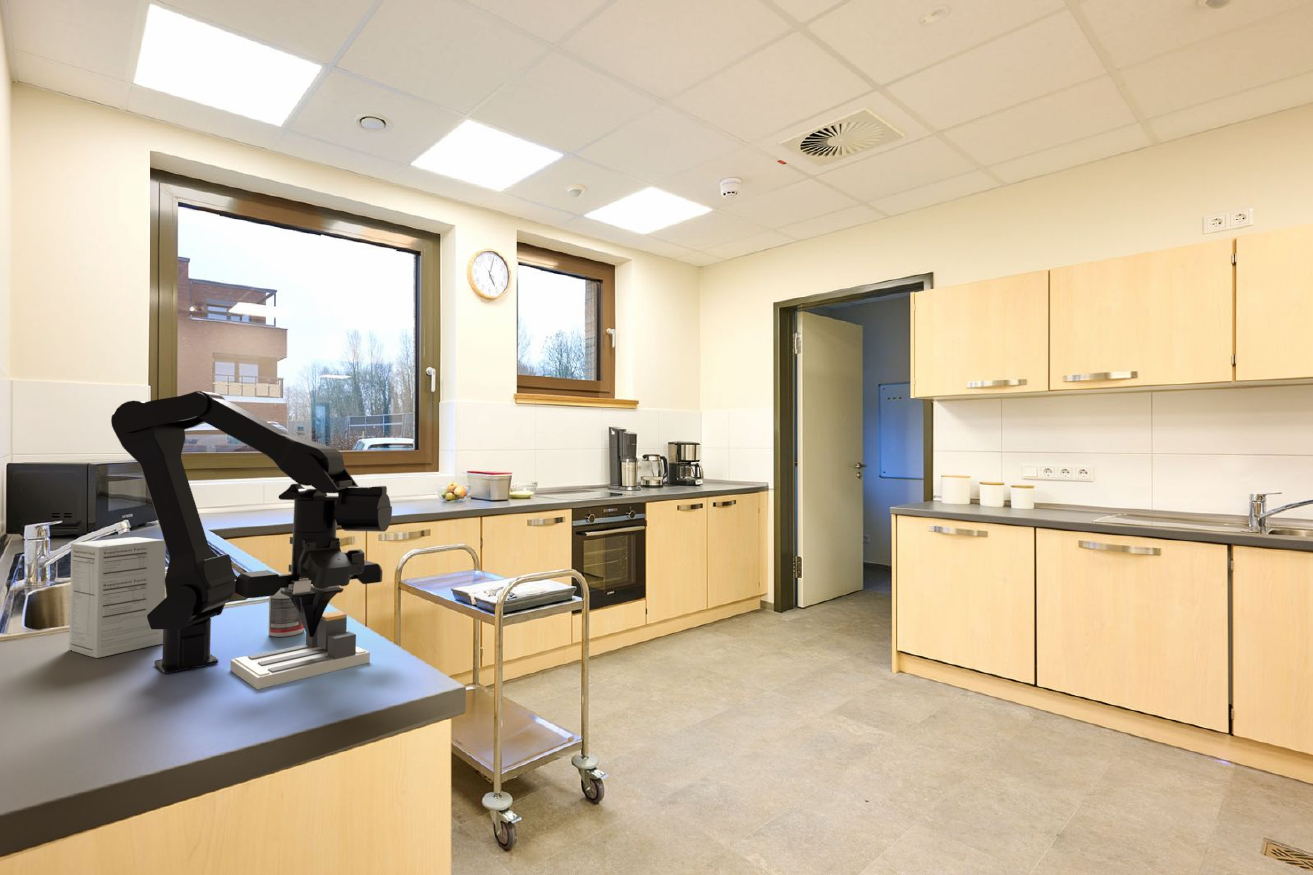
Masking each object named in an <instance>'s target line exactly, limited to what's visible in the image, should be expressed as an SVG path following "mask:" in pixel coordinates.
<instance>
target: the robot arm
mask: <svg viewBox="0 0 1313 875" xmlns="http://www.w3.org/2000/svg"><path fill="white" fill-rule="evenodd" d="M113 413H114V414H112V415H111V417H110V418H111V420H110V421H111V422H110V424H111V428H112V429H113V431H114V433H115V435H116V437H117V439H118V442H119V443H120V445H121V447H122V448H123V449H124V451H126V452H127V453H128V454H129V455H130V456H131V457H132V459H134V461H136V462H137V463H138V465H139V466H140V468H141V471H142V474H143V478H144V480H145V484H146V487H147V490H148V493H149V496H150V499H151V502H152V505H153V509H154V512H155V516H156V519H157V522H158V525H159V528H160V531H161V535H162V537H163V540H164V541H165V544H166V550H167V551H166V552H167V553H168V556H169V557H168V558H169V562H168V565H167V569H166V572H165V599H164V600H163V601H162V602H161V603H160V604H158V605H157V606H156V607H155V608H154V609H153V610H152V611H151V612H150V613H149V614H148V615H147V619H148V622H149V625H150V628H151V629H163V644H162V655H161V656H162V658H161V659H156V660H154V662H153V663H154V665H155V666H156V667H157V668H158V669H159V670H160V671H161V672H162V673H163V674H164V673H165V674H171V673H174V672H181V671H184V670H185V671H186V670H189V669H194V668H201V667H205V666H209V665H215V664H218V663H219V658H217V657H216V656H214V655H213V654H211V636H212V634H211V633H212V631H211V629H212V628H211V627H212V625H211V624H212V618H214V617H216V616H220V615H222V613H223V610H224V609H225V606H226V604H227V603H228V602H229V601H230V600H231V598H232V597H233V595H234V593H235V594H237V595H240V596H242V597H244V598H246V599H256V598H257V599H258V598H266V597H269V596H274V595H275V594H276V593H277V592H278V591H279V590H280V588H284V589H281V591H280V592H281V594H283V595H286V596H288V597H290V599H291V601H292V602H293V604H294V606H295V608H296V610H297V612H298V614H299V617H300V619H301V622H302V624H303V627H304V631H305V635H306V634H307V636H308V637H313V636H314V634H315V632H316V630H317V627H318V625H319V622H320V620H321V618H322V615H323V613H325V611H326V609H327V607H328V605H329V603H330V602H331V600H332V599H333V598H334V597H335V596H336V595H337V594H341V593H343V592H344V588H343V587H347V586H349V585H350V582H351V580H358V581H359V582H360V583H361V584H362V585H368V584H369V585H370V584H377V583H381V582H383V568H382V566H381V565H380V564H379V563H377V562H372V561H369V560H366V557H365V552H364V551H363V549H361V548H360V549H349V550H348V551H343V552H342V550H341V549H342V548H341V542H340V538H339V537H338V536H337V526H338V527H341V529H342V530H343V531H345V532H380V533H381V532H386V531H387V530H388V528H389V526H390V524H391V522H392V515H393V514H392V513H393V506H392V505H391V499H390V497H389V495H388V493H387V492H388V488H387V486H386V485H375V486H359V485H358V484H357V482H356V481H355V480H354V478H353V477H352V475H351V474H350V472H349V471H348V470H347V469H346V467H345V461H344V459H343V458H344V456H343V454H342V453H341V452H340V451H339V450H338V449H337V448H333V447H332V446H328V445H326V444H323V443H319V442H318V441H317V442H316V441H314V440H309V439H306V438H302V437H299V436H295V435H294V434H290V433H288V432H286V431H284V430H282V429H281V428H278V426H275V425H274V424H271V423H270V422H267V421H266V420H265V419H263V418H260V417H258V416H257V415H255V414H252V412H249V411H248V410H246V409H244V408H242V407H240V406H238V405H236V404H234V403H232V402H230V401H228V400H227V399H226V398H225V397H224V396H222V395H221V394H219V393H215V392H210V391H201V390H195V391H193V392H189V393H187V394H182V395H177V396H172V397H166V398H160V399H153V400H149V401H144V400H143V401H141V400H128V401H126V402H123V403H122V404H120V405H119V406H118V407H117V408H116V410H115V412H113ZM204 423H206V424H208V425H209V426H211V427H213V428H215V429H217V430H219V431H221V432H222V433H224V434H227V435H228V436H230V437H232V438H233V439H236V440H237V441H239V442H241V443H243V444H245V445H246V446H248V447H250V448H252V449H254V450H256V451H258V452H260V453H262V454H264V455H265V456H267V457H268V458H269V459H271V461H272V462H274V464H275V466H277V468H278V469H279V470H280V471H281V472H283V473H284V474H285V475H287V476H288V478H290V479H291V480H293V481H294V482H295V483H291V484H290V485H289V487H288V488H286V490H285V491H283V492H282V493H281V494H278V499H279V500H280V501H286V500H287V501H293V502H294V503H293V526H292V536H289V544H290V545H291V546H292V547H291V548H292V549H291V563H290V564H288V573H287V574H278V573H276V572H273V571H270V570H257V571H247V572H240V574H238V575H236V573H235V570H234V569H233V564H232V559H231V555H230V554H229V553H226V554H221V555H218V554H217V553H216V552H215V551H214V550H213V549H212V548H211V547H210V545H209V543H208V540H207V536H206V533H205V530H204V526H203V523H202V520H201V516H200V514H199V511H198V508H197V505H196V502H195V497H194V495H193V492H192V489H191V486H190V482H189V479H188V476H187V473H186V469H185V466H184V463H183V460H182V452H183V450H184V449H183V448H184V446H185V441H186V431H185V430H189V429H193V428H197V427H198V426H200V425H202V424H204ZM303 486H306V487H307V486H308V487H309V486H311V487H313V488H305V487H303ZM328 494H337V495H328ZM289 572H290V573H289ZM299 579H300V580H299Z"/></svg>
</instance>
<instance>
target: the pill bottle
mask: <svg viewBox="0 0 1313 875" xmlns="http://www.w3.org/2000/svg"><path fill="white" fill-rule="evenodd" d="M299 580H300V579H299ZM281 589H284V588H280V590H279V591H278V592H277V593H276V594H275V595H274V596H268V597H269V598H268V599H269V601H268V635H269V636H271V637H277V638H278V637H279V638H283V637H285V638H286V637H290V636H295V635H296V636H297V635H300V634H301V633H303V632H304V631H305V629H304V627H303V624H302V622H301V619H300V617H299V614H298V612H297V610H296V608H295V606H294V604H293V602H292V601H291V599H290V597H288V596H286V595H283V594H281V592H280V591H281Z"/></svg>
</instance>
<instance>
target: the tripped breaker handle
mask: <svg viewBox="0 0 1313 875" xmlns="http://www.w3.org/2000/svg"><path fill="white" fill-rule="evenodd" d="M347 615H348V614H347V613H345V612H343V611H339V610H336V611H329V612H324V613H323V615H322V618H321V620H320V622H319V625H318V634H317V646H319V647H321V648H323V649H325V650H327V649H328V635H333V634H338V633H343V632H347V624H348V622H347V621H348V620H347V619H348V616H347Z"/></svg>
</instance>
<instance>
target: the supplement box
mask: <svg viewBox="0 0 1313 875" xmlns="http://www.w3.org/2000/svg"><path fill="white" fill-rule="evenodd" d="M166 550H167V547H166V544H165V541H164V539H158V538H148V537H141V536H139V537H138V536H134V537H133V536H130V537H122V538H121V537H120V538H112V539H102V540H91V541H82V542H81V541H80V542H73V543H71V544H70V596H69V597H70V598H69V619H68V620H69V622H68V623H69V627H68V628H69V630H68V650H69V651H71V650H72V652H76V653H78V654H82V655H85V656H89V657H91V658H96V659H99V658H103V657H107V656H108V657H109V656H112V655H117V654H121V653H126V652H130V651H135V650H139V649H143V648H148V647H149V648H150V647H153V646H157V645H163V629H151V628H150V625H149V622H148V619H147V615H148V614H149V613H150V612H151V611H152V610H153V609H154V608H155V607H156V606H157V605H158V604H160V603H161V602H162V601H163V600H164V599H165V598H166V587H165V577H166V559H167V558H166V552H167V551H166Z"/></svg>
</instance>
